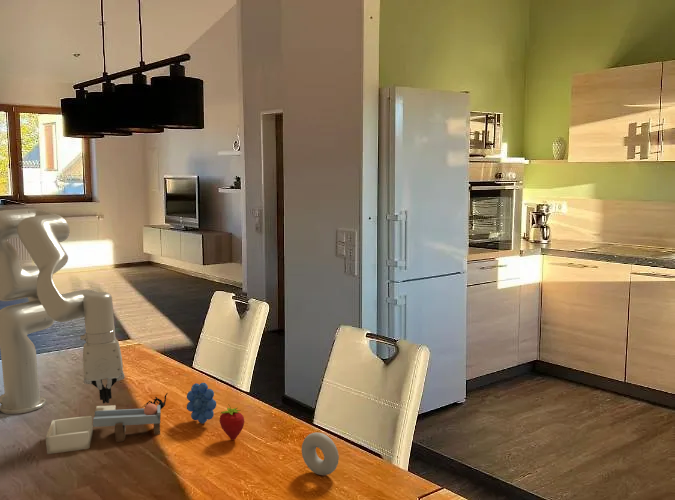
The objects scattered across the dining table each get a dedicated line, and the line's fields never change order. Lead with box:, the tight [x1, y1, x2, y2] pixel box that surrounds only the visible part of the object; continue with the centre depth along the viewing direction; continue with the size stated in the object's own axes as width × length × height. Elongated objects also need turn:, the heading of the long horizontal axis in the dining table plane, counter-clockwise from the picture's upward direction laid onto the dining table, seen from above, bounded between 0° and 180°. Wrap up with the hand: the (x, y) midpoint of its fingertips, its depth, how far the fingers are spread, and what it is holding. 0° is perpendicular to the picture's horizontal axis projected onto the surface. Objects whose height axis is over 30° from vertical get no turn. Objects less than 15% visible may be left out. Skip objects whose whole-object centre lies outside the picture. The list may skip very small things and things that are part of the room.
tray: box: [45, 415, 94, 455], centre depth 172 cm, size 10×12×4 cm
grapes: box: [186, 382, 217, 425], centre depth 183 cm, size 12×7×12 cm, turn 52°
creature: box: [140, 392, 169, 411], centre depth 193 cm, size 8×5×8 cm
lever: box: [92, 404, 162, 428], centre depth 179 cm, size 17×13×4 cm
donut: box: [301, 431, 340, 476], centre depth 150 cm, size 10×3×10 cm, turn 54°
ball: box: [143, 402, 157, 415], centre depth 177 cm, size 4×4×4 cm
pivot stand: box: [114, 423, 127, 443], centre depth 175 cm, size 2×7×5 cm, turn 16°
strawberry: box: [218, 404, 245, 441], centre depth 170 cm, size 6×8×10 cm
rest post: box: [153, 422, 161, 436], centre depth 178 cm, size 2×5×3 cm, turn 16°
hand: (106, 401), depth 181 cm, fingers closed
